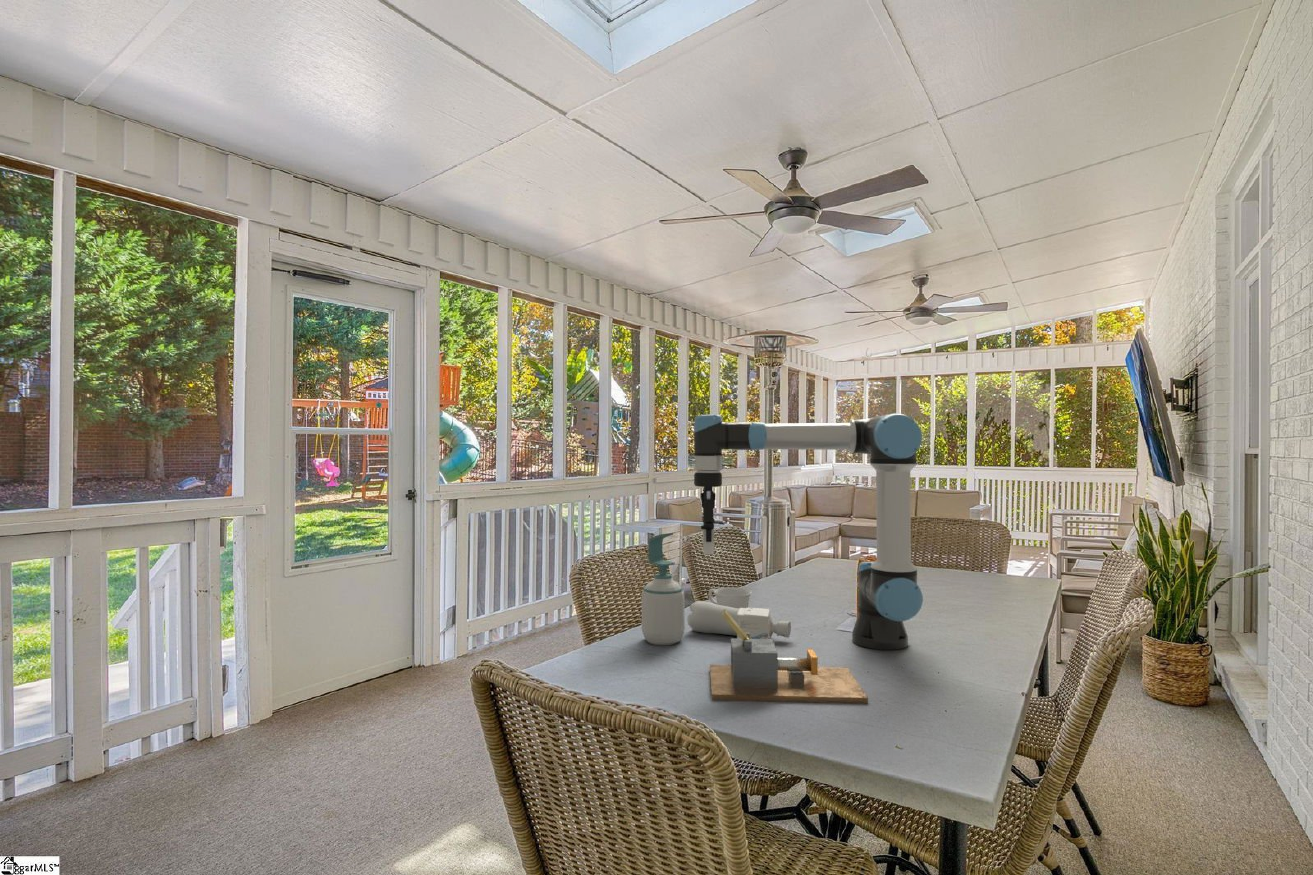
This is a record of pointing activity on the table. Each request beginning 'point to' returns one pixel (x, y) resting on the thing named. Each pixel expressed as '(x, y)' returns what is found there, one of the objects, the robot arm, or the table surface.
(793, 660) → the lynch pin
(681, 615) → the soap bottle
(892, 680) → the table surface
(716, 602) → the teacup
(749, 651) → the block
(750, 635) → the ink box
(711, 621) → the bottle
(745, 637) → the tab
